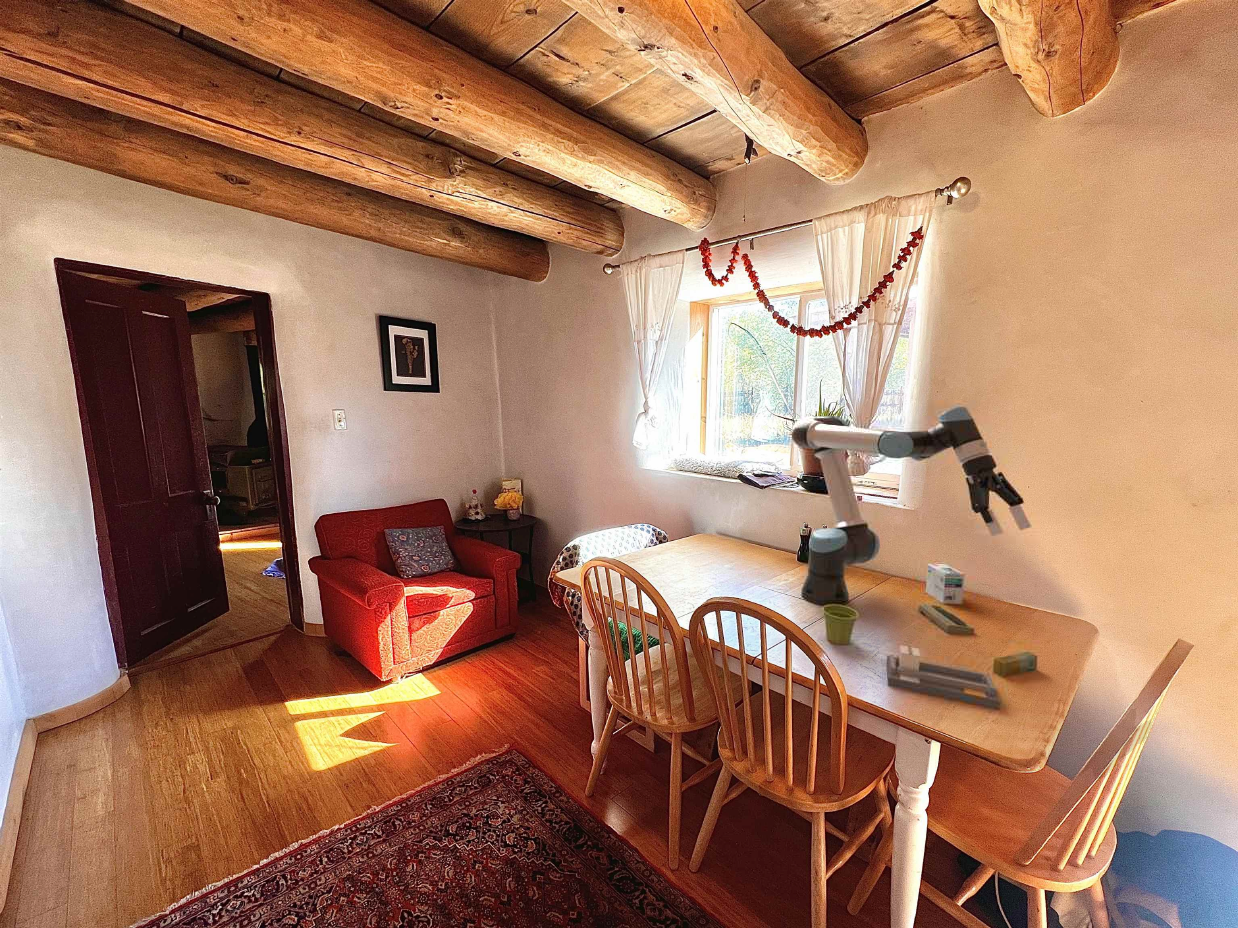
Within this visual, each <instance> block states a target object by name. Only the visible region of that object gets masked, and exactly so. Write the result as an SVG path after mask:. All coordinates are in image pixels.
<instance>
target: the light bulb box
mask: <svg viewBox="0 0 1238 928" xmlns="http://www.w3.org/2000/svg"><path fill="white" fill-rule="evenodd" d="M965 577H966V576H965V573H963V572H961V571H959V570H958V569H955V568H954V567H952V566H949V565H948V564H946V563H942V564H941V563H940V564H939V563H927V572H926V584H925V585H926V586H925V593H926V594H927V593H928V595H929V596H931V597H932V598H934V599H935V600H936V601H937V602H940V603H941V604H943V605H945V604H947V605H949V604H950V605H963V598H964V588H965V587H964V585H965Z"/></svg>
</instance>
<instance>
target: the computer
mask: <svg viewBox="0 0 1238 928" xmlns="http://www.w3.org/2000/svg"><path fill="white" fill-rule="evenodd" d="M917 612H919V613H920V614H921V615H922V614H923V615H925V618H926V619H928V620H929V621H930V622H932V623H933V624H934V625H936V626H938V627H939V629H942V630H943V631H944V632H945V633H946V634H965V635H966V634H967V635H968V634H969V635H973V634H974V633H975V628H974V627H972V626H971V625H970V624H969V623H967V622H965V621H964V620H962V619H961V618H960V617H958V616H957V615H955V613H954V614H953V613H952V612H951V611H950V610H948V609H947V608H945V607H944V606H940V605H934V604H927V603H920V604H918V607H917Z"/></svg>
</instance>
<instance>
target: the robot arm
mask: <svg viewBox="0 0 1238 928" xmlns="http://www.w3.org/2000/svg"><path fill="white" fill-rule="evenodd" d="M938 420H939V423H937V425H935V426H932V427H931V428H929V429H927V430H924V431H923V430H921V431H920V430H918V431H917V430H916V431H915V430H914V431H899V430H898V431H897V430H886V429H885V430H884V429H874V428H862V427H853V426H852V427H851V426H849V424H848V423H847V422H846V421H845V420H844V419H842V418H841V417H839V416H832V415H826V416H806V417H802V418H799V419H798V420H797V421H796V422H795V423H794V424H793V426H792V429H791V438H792V441H793V442H794V444H795V445H797V446H798V447H799V448H801V449H811V450H812V451H813V455H814V456H815V457H816V458H818V459H819V460H820V461H819V462H820V465H821V469H822V472H823V473H822V474H823V477H824V480H825V485H826V489H827V492H828V493H827V494H828V498H829V501H830V504H831V509H832V514H833V517H834V521H835V523H834V525H833V526H832V528H830V527H829V528H819V529H816V530H814V531H812V533H811V534H810V538H809V543H808V562H807V563H808V566H807V575H806V578H805V580H804V581H803V585H802V587H801V596H802V598H803V599H804V600H806V601H808V602H811V603H814V604H817V605H822V606H826V605H842V606H845V605H847V604H848V603H849V597H850V594H849V590H848V588H847V584H846V583H847V582H846V580H845V579H846V578H845V571H846V566H852V565H856V564H857V565H858V564H864V563H865V564H866V563H867V562H870V561H872V560H873V559H875V558H876V556H877V555H878V553H879V552H880V546H881V544H880V538H879V536H878V535H877V533H876V532H874V530H872V529H871V528H869V525H868V522H867V521H865V520H864V519H863V518H862V517H861V512H860V508H859V506H858V504H859V503H858V501H857V497H856V496H857V495H856V493H855V488H854V485H853V481H852V478H851V473H850V471H849V466H848V461H847V457H846V452H847V451H851V452H852V451H853V452H859V453H864V454H865V453H866V454H873V455H882V456H885V457H887V458H889V459H902V458H903V459H904V458H911V459H913V460H915V461H919V462H920V461H924V460H927V459H930V458H931V457H933V456H935V455H938V454H939V453H941V452H943V451H946V450H948V449H950V448H952V449H953V451H954V452H955V455H956V457H957V459H958V461H959V463H961V464H962V465H961V467H962V469H963V471H964V473H965V475H966V476H967V477H965V481H966V483H967V487H968V494H969V499H970V506H971V510H973V512H974V513H975V514H979V513H980V515H981V518H982V519H983V521H984V523H985V526H986V527H987V530H988V531H989V534H990V536H991V537H993V536H996V535H1001V534H1004V531H1003V529H1002V527H1001V525H1000V523H999V521H998V519H997V516H996V515H995V513H994V511H993V509H990V492H992V493H994V494H996V495H997V496H998V497H999V498H1000V499H1002V500H1003V502H1004V503H1006V504H1007V505H1008V509H1009V511H1010V513H1011V515H1012V518H1013V519H1014V522H1015V523H1016V525H1017V527H1018V529H1019V531H1022V530H1023V531H1024V530H1026V529H1027V530H1028V529H1030V528H1032V525H1031V523H1030V521H1029V519H1028V517H1027V515H1026V513H1025V511H1024V509H1023V507H1022V504H1025V502H1024V499H1023V497H1022V496H1021V495H1020V494H1019V492H1018V491H1017V490H1016V489H1015V488H1014V487H1013V486H1012V484H1011V483H1010V482H1009V481H1008V479H1006V477H1005V475H1004V474H1003V472H1002V471H999V472H998V471H997V472H996V473H995V471H994V469H996V467H998V465H997V463H996V460H995V458H994V456H993V455H992V454H990V450H989V447H988V445H987V444H988V443H987V441H985V440H984V438H983V436H982V435H981V432H980V430H979V428H978V426H977V424H976V422H975V419H974V417H973V416H972V415H971V413H970V411H969V410H968V407H965V406H955V407H952V408H950V409H947V410H945V411H943V412H942V413H941V414H939V415H938Z"/></svg>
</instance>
